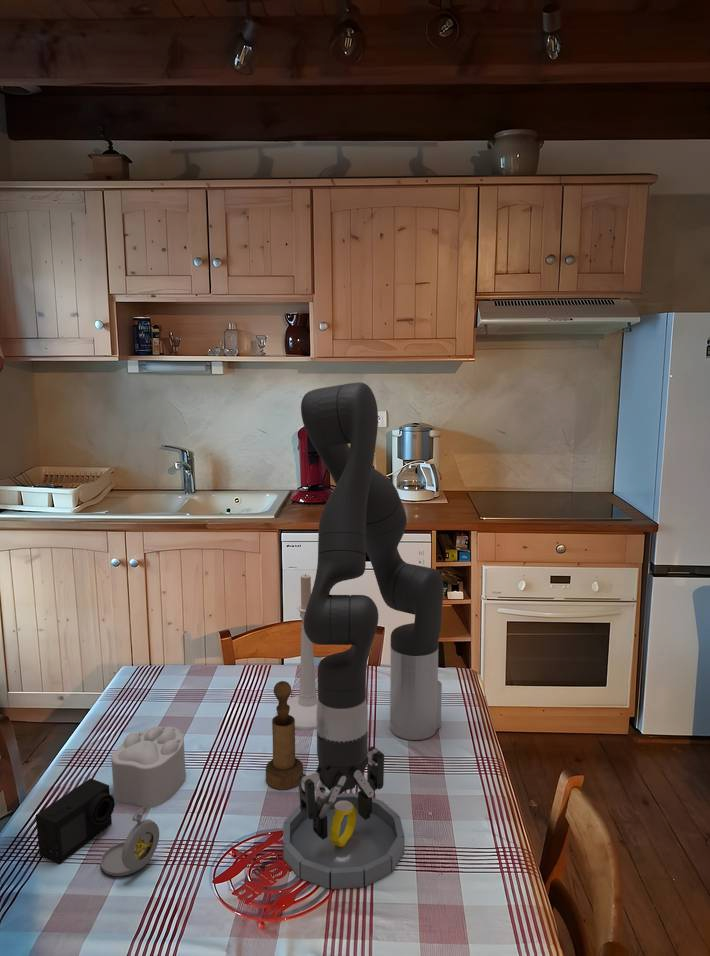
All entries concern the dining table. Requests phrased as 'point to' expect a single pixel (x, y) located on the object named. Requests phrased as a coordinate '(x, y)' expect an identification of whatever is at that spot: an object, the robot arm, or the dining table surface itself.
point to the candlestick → (305, 672)
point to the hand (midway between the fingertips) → (343, 825)
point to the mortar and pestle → (283, 744)
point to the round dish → (358, 860)
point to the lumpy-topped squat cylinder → (149, 767)
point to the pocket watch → (132, 848)
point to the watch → (341, 810)
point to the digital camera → (74, 820)
